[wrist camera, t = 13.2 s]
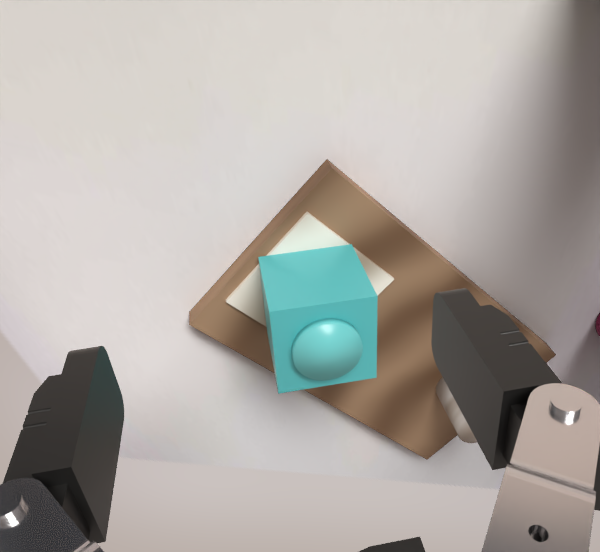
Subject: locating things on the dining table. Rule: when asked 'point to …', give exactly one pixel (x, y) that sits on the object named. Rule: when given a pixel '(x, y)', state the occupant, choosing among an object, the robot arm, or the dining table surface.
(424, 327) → the board
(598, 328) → the cup
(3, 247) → the dining table surface
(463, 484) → the dining table surface
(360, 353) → the teal stud brick
